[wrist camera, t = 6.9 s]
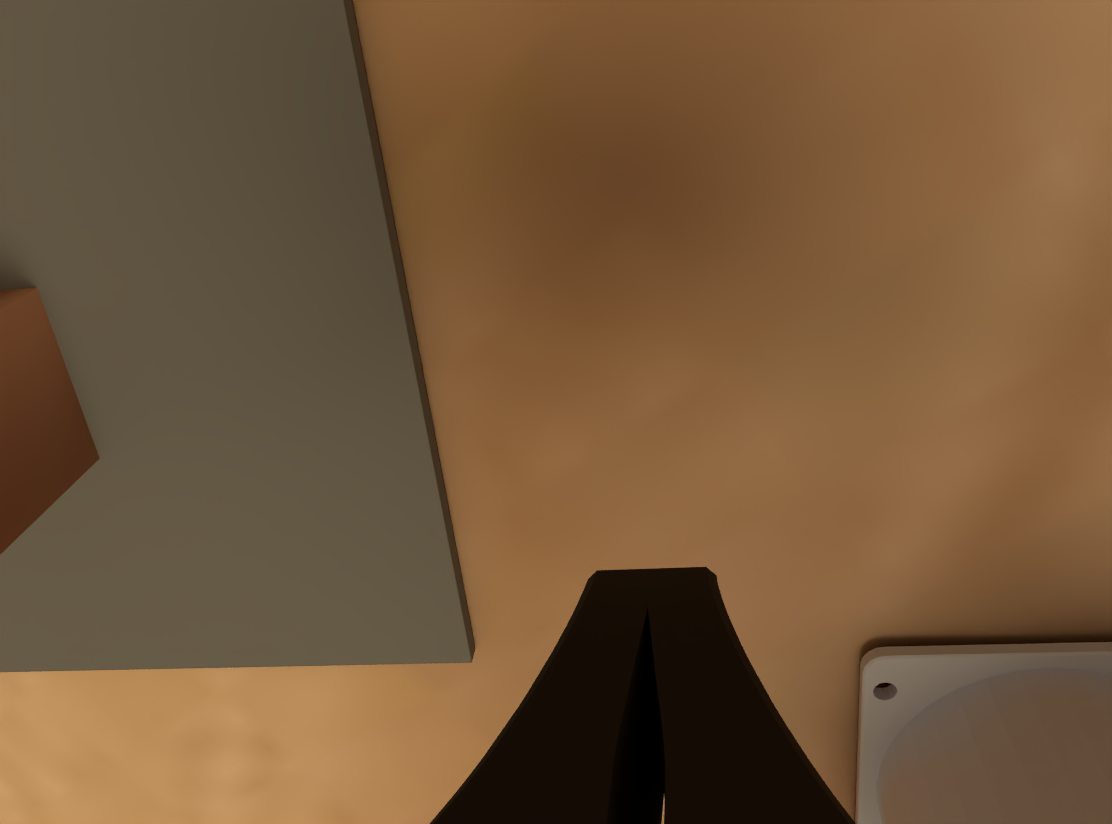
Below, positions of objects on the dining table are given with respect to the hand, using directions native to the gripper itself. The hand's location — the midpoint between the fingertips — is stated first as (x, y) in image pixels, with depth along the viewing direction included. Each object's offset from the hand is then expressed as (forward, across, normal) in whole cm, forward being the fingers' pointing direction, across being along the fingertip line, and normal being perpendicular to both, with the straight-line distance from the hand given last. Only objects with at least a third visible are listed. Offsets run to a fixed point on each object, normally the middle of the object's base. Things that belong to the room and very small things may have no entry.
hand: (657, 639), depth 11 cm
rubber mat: (+9, +15, 0) cm, 18 cm away
